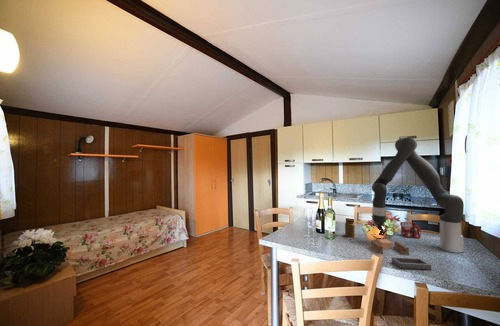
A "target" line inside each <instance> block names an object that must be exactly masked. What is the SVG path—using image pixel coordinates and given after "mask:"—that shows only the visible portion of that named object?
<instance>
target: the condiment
mask: <svg viewBox="0 0 500 326" xmlns="http://www.w3.org/2000/svg"><path fill="white" fill-rule="evenodd" d="M355 232H356V231H355V220H354V219H351V218H346V219H345V224H344V233H345V234H342V235H341V237H342V238H346V239H349V240H351V239H352V240H353V239H355V238H357V236H356V235H355Z"/></svg>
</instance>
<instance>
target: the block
mask: <svg viewBox="0 0 500 326" xmlns="http://www.w3.org/2000/svg"><path fill="white" fill-rule="evenodd" d="M376 242H377V243H378V244H379V245H381V246H382V247H383V250H393V242H391V241H390V240H388V239H386V238H382V239H377V238H376Z"/></svg>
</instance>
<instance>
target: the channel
mask: <svg viewBox="0 0 500 326" xmlns="http://www.w3.org/2000/svg"><path fill="white" fill-rule="evenodd" d="M369 241H370V245H369V246H370V248H371V249H372V250H374V252H376V253H378V254H379V255H384V249H383V247H382V246H381V245H379V244H378V243H377V241H375V240H373V239H372V240H369ZM393 244H394V245H393V246H394V247H393V248H394V249H396V250H397V251H398V252H400V253H402V254H403V255H405V256H409V255H410V247H408V246H406V245H405V244H403V243H401V242H399V241H397V240H396V241H395V240H394V242H393Z"/></svg>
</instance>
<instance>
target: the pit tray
mask: <svg viewBox="0 0 500 326" xmlns="http://www.w3.org/2000/svg"><path fill="white" fill-rule="evenodd" d="M391 263H392V264H394V265H395V266H396V267H397V268H399V269H400V270H418V271H431V270H432V265H431V264H430V263H429V262H426V261H425V260H424V259H422V258H420V257H419V258H416V257H415V258H414V257H397V256H396V257H394V256H393V257H391Z"/></svg>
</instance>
